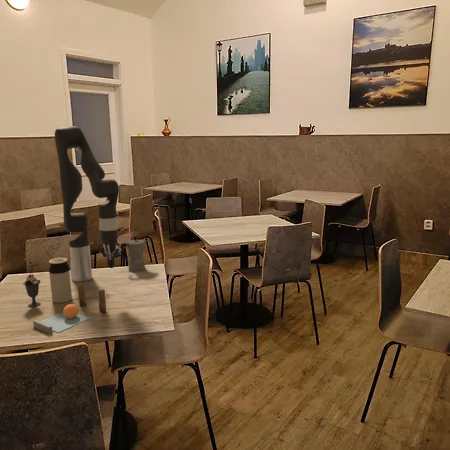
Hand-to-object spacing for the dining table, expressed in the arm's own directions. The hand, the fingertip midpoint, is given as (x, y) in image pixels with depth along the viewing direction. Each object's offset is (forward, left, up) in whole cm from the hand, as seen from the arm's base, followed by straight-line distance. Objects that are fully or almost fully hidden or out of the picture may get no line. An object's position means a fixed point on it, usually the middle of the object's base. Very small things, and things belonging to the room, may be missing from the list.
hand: (111, 267), depth 179 cm
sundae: (-24, -22, -15) cm, 36 cm away
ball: (0, -22, -12) cm, 25 cm away
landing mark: (0, -25, -15) cm, 29 cm away
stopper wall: (0, -34, -15) cm, 37 cm away
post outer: (+6, -11, -15) cm, 20 cm away
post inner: (-6, -11, -15) cm, 20 cm away
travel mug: (-19, -12, -15) cm, 27 cm away
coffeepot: (-22, +34, -15) cm, 43 cm away
